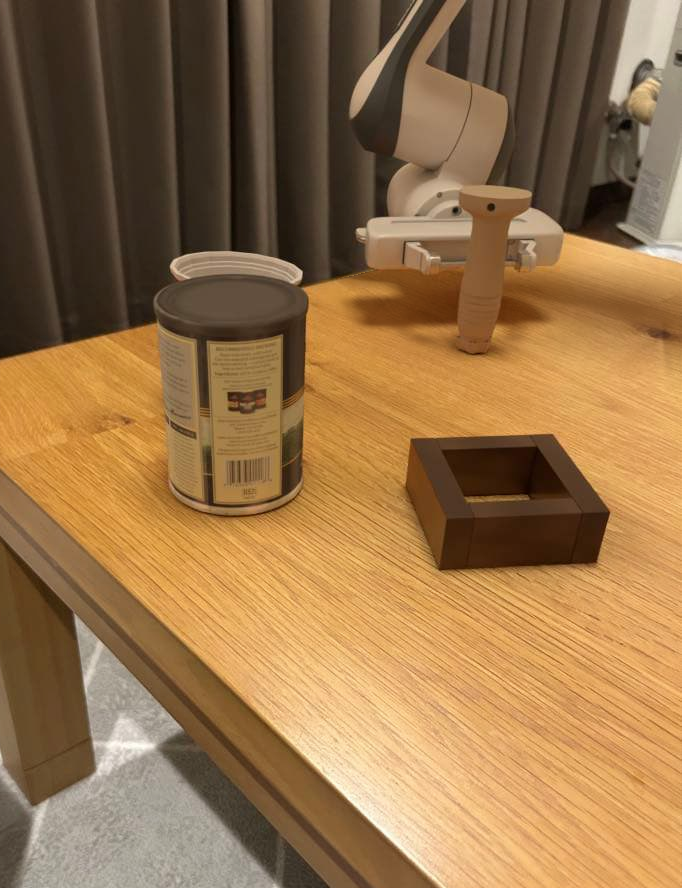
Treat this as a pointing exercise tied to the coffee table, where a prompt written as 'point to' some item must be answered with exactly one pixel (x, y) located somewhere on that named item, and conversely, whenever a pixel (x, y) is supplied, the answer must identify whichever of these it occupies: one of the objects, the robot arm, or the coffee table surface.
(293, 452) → the coffee can
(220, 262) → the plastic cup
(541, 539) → the stand
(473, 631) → the coffee table surface
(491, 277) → the handle
